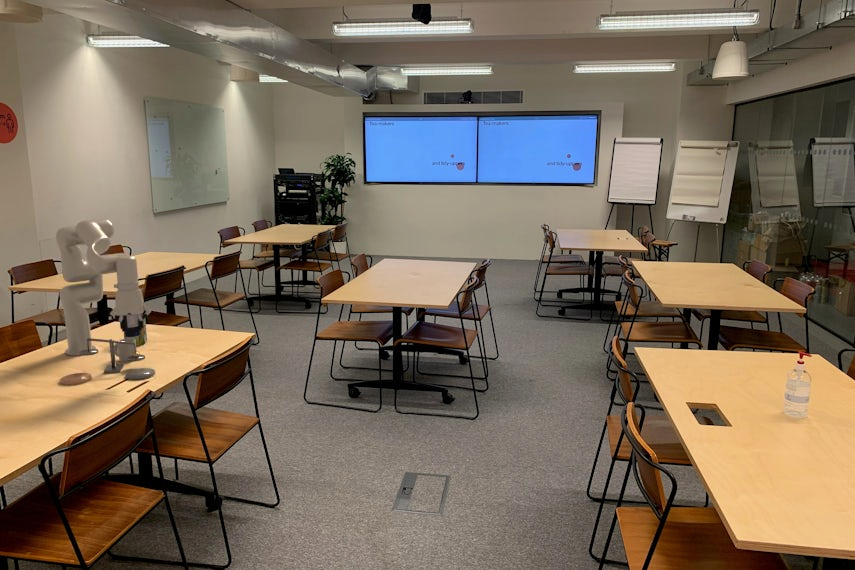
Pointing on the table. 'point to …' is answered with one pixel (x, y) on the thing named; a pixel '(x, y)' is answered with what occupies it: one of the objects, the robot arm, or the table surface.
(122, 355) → the cup
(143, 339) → the green printed box
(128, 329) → the beverage can
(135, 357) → the balance
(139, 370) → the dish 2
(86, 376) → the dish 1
